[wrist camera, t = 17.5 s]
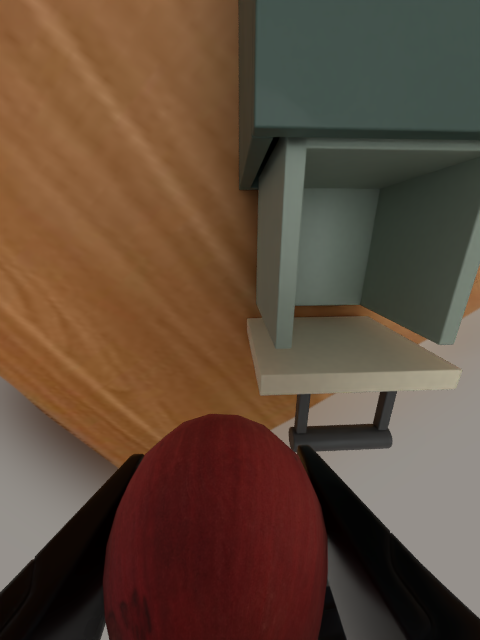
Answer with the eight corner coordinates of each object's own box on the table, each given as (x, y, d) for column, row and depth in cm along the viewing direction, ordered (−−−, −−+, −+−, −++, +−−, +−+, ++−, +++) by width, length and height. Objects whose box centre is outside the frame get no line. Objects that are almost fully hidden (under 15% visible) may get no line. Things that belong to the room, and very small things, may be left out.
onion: (192, 489, 12) (128, 957, 4) (128, 400, 10) (-211, 971, 2) (304, 449, 11) (468, 897, 4) (260, 347, 9) (411, 848, 2)
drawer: (356, 377, 22) (431, 459, 14) (246, 380, 22) (257, 467, 14) (392, 179, 17) (550, 124, 9) (248, 178, 17) (268, 118, 8)
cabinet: (390, 191, 18) (593, 133, 8) (238, 190, 18) (253, 127, 8) (435, -50, 14) (963, -780, 4) (238, -61, 13) (268, -934, 3)
